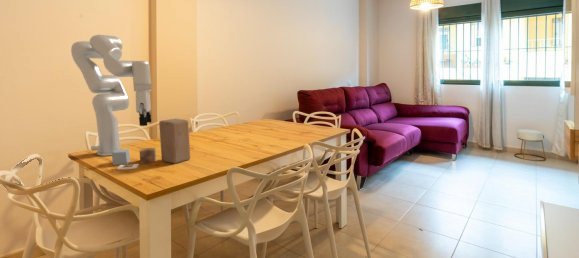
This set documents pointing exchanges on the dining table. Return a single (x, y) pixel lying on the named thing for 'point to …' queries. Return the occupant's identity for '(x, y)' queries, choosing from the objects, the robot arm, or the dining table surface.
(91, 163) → the dining table surface
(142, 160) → the walnut cube
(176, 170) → the dining table surface
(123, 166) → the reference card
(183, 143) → the wooden block
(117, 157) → the slate-grey cube
